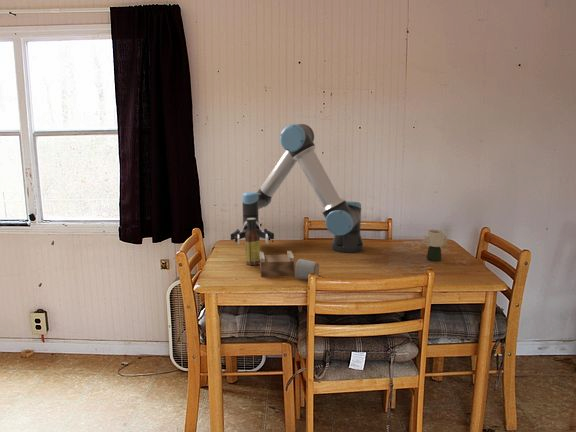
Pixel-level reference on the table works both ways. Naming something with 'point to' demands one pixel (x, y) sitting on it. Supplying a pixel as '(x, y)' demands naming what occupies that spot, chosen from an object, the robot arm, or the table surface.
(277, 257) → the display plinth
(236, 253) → the table surface
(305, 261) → the ceramic mug
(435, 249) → the character mug
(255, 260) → the sauce bottle
